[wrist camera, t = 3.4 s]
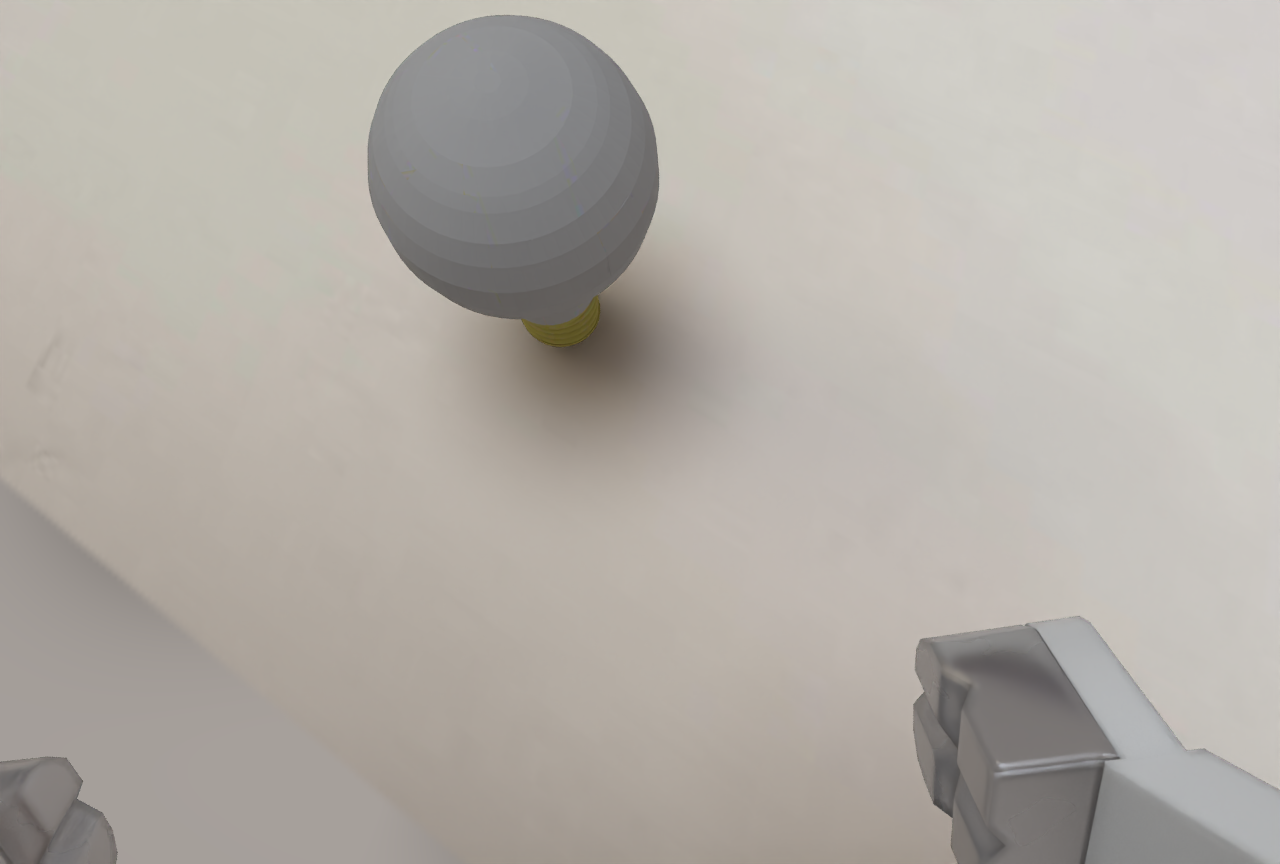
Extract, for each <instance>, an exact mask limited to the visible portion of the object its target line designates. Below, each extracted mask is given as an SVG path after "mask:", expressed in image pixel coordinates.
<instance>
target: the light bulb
mask: <svg viewBox="0 0 1280 864" xmlns="http://www.w3.org/2000/svg"><path fill="white" fill-rule="evenodd" d="M368 183H369V191H370V196H371V200H372V204H373V207H374V210H375V213H376V215H377V218H378V220H379V222H380V224H381V226H382V228H383V230H384V231H385V233H386V235H387V237H388V238H389V240H390V242H391V244H392V245H393V247H394V249H395V250H396V252H397V253H398V255H399V257H400V258H401V259H402V261H403V262H404V263H405V264H406V266H407V267H408V268H409V269H410V270H411V271H412V272H413V273H414V274H415V275H416V276H417V277H418V278H419V279H420V280H422V281H423V282H424V283H425V284H426V285H428V286H429V287H431V288H432V289H434V290H435V291H437V292H438V293H440V294H442V295H443V296H445V297H446V298H448V299H449V300H451V301H452V302H454V303H456V304H458V305H460V306H462V307H464V308H467V309H469V310H472V311H474V312H477V313H481V314H484V315H488V316H493V317H499V318H509V319H521V320H522V322H523V324H524V325H525V327H526V329H527V330H528V332H529V333H530V334H531V335H532V336H533V337H534V338H536V339H537V340H538V341H540V342H542V343H544V344H547V345H551V346H555V347H566V346H571V345H574V344H577V343H579V342H581V341H583V340H584V339H586V338H587V337H588V336H589V335H590V334H591V333H592V332H593V331H594V329H595V328H596V326H597V323H598V321H599V317H600V303H599V300H598V294H599V293H601V292H602V291H603V290H605V289H606V288H607V287H609V286H610V285H611V284H612V283H613V282H614V281H615V280H616V279H617V278H618V277H619V276H620V275H621V274H622V273H623V272H624V271H625V270H626V268H627V267H628V266H629V264H630V263H631V262H632V260H633V259H634V257H635V255H636V254H637V252H638V250H639V249H640V246H641V244H642V242H643V240H644V238H645V235H646V233H647V230H648V228H649V226H650V223H651V220H652V217H653V214H654V212H655V208H656V203H657V199H658V191H659V167H658V156H657V146H656V137H655V133H654V128H653V125H652V122H651V119H650V116H649V113H648V111H647V109H646V107H645V105H644V103H643V101H642V99H641V98H640V96H639V94H638V93H637V91H636V90H635V88H634V87H633V85H632V84H631V82H630V81H629V79H628V78H627V76H626V75H625V74H624V72H623V71H622V70H621V68H620V67H619V66H618V65H617V64H616V63H615V62H614V61H613V60H612V59H611V58H610V57H609V56H608V55H607V54H606V53H605V52H603V51H602V50H601V49H600V48H598V47H597V46H596V45H595V44H593V43H592V42H591V41H589V40H588V39H586V38H585V37H584V36H582V35H580V34H579V33H577V32H575V31H573V30H572V29H569V28H567V27H565V26H563V25H560V24H557V23H554V22H551V21H548V20H544V19H540V18H534V17H528V16H514V15H495V16H486V17H480V18H475V19H472V20H468V21H464V22H462V23H459V24H456V25H454V26H452V27H449V28H447V29H445V30H443V31H442V32H440V33H438V34H436V35H435V36H433V37H432V38H430V39H429V40H427V41H426V42H425V43H423V44H422V45H421V46H420V47H418V48H417V49H416V50H415V51H413V52H412V53H411V54H410V55H409V56H408V57H407V58H406V59H405V60H404V61H403V62H402V63H401V65H400V66H399V67H398V68H397V69H396V71H395V72H394V74H393V75H392V76H391V78H390V79H389V81H388V83H387V85H386V86H385V88H384V90H383V92H382V94H381V97H380V99H379V102H378V105H377V108H376V111H375V114H374V117H373V120H372V124H371V128H370V133H369V139H368Z"/></svg>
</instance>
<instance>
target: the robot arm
mask: <svg viewBox="0 0 1280 864" xmlns="http://www.w3.org/2000/svg"><path fill="white" fill-rule="evenodd" d="M915 671H916V674H917V676H918V678H919V680H920V683H921V685H922V687H923V689H924V693H923V694H922V695H921V696H920V697H919V698H918V699H917V701H916V702H915V703H914V704H913V731H914V738H915V744H916V751H917V757H918V761H919V764H920V768H921V771H922V775H923V778H924V781H925V784H926V786H927V789H928V791H929V794H930V796H931V799H932V801H933V804H934V805H936V806H937V807H938V808H940V809H941V810H942V811H944V812H945V813H946V814H948V815H949V816H951V817H952V818H953V820H952V835H951V848H952V850H953V853H954V855H955V858H956V860H957V862H958V864H1280V790H1279V789H1277V788H1275V787H1273V786H1271V785H1270V784H1268V783H1266V782H1264V781H1262V780H1261V779H1259V778H1257V777H1255V776H1253V775H1251V774H1250V773H1248V772H1246V771H1244V770H1242V769H1240V768H1239V767H1237V766H1235V765H1233V764H1231V763H1230V762H1228V761H1226V760H1224V759H1222V758H1220V757H1219V756H1217V755H1215V754H1213V753H1211V752H1209V751H1208V750H1206V749H1195V750H1186V749H1185V748H1184V746H1183V745H1182V744H1181V742H1180V741H1179V740H1178V738H1177V737H1176V736H1175V734H1174V733H1173V732H1172V730H1171V729H1170V728H1169V726H1168V725H1167V724H1166V722H1165V721H1164V720H1163V718H1162V717H1161V716H1160V714H1159V713H1158V712H1157V710H1156V709H1155V708H1154V706H1153V705H1152V704H1151V702H1150V701H1149V700H1148V698H1147V697H1146V696H1145V694H1144V693H1143V692H1142V690H1141V689H1140V688H1139V686H1138V685H1137V684H1136V682H1135V681H1134V680H1133V678H1132V677H1131V676H1130V674H1129V673H1128V672H1127V670H1126V669H1125V668H1124V666H1123V665H1122V664H1121V662H1120V661H1119V660H1118V658H1117V657H1116V656H1115V654H1114V653H1113V652H1112V650H1111V649H1110V648H1109V646H1108V645H1107V644H1106V642H1105V641H1104V640H1103V638H1102V637H1101V636H1100V634H1099V633H1098V632H1097V630H1096V629H1095V628H1094V627H1093V625H1092V624H1091V623H1090V622H1089V621H1087V620H1085V619H1084V618H1082V617H1080V616H1076V617H1069V618H1062V619H1055V620H1048V621H1041V622H1034V623H1028V624H1026V625H1024V626H1023V625H1015V626H1008V627H1001V628H994V629H987V630H980V631H973V632H966V633H959V634H952V635H945V636H938V637H931V638H924V639H920V641H919V644H918V646H917V649H916V660H915ZM82 783H83V780H82V779H81V778H80V776H79V775H78V773H77V772H76V771H75V769H74V768H73V766H72V765H71V763H70V762H69V761H68V760H67V758H61V757H40V758H31V759H22V760H12V761H3V762H0V864H116V860H117V848H116V844H115V839H114V834H113V830H112V828H111V826H110V825H109V823H108V821H107V820H106V818H105V816H104V814H103V813H102V812H100V811H98V810H97V809H95V808H93V807H91V806H89V805H87V804H85V803H84V802H82V801H79V800H78V799H77V797H78V794H79V791H80V789H81V786H82Z"/></svg>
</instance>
